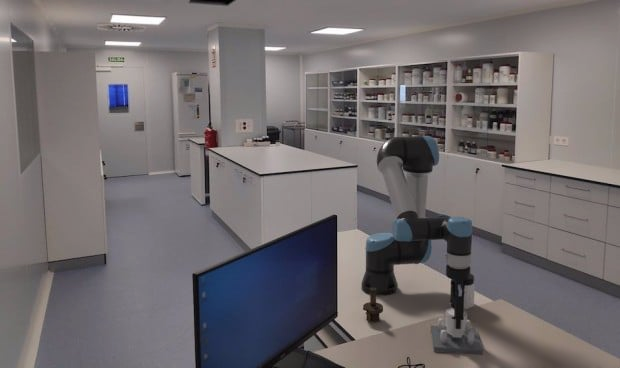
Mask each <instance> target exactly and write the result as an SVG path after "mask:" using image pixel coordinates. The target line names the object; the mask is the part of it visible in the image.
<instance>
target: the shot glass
mask: <svg viewBox="0 0 620 368" xmlns="http://www.w3.org/2000/svg"><path fill="white" fill-rule="evenodd" d="M452 317H454V308H452V307H450V308H448V309H446V310H445V321H446V322H445V323H446V326H447V333H448V334H450V335H453V319H452ZM463 317H464V320H462V335H464V333H465V327H466V320H468V312H467V311H466V310H464V316H463Z"/></svg>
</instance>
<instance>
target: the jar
mask: <svg viewBox="0 0 620 368" xmlns="http://www.w3.org/2000/svg"><path fill="white" fill-rule="evenodd" d="M463 282H464V284H465V289H464V291H465V293H464V310H468V309H471V308H473V307H474V306H475V289H476V288H475V285H476V283H475V276H474V274H472V273H470V278H469V279H467V280H463ZM449 294H450V297H449V299H450V298H451V290H450V293H449Z"/></svg>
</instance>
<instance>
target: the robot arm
mask: <svg viewBox="0 0 620 368" xmlns="http://www.w3.org/2000/svg"><path fill="white" fill-rule="evenodd" d="M439 161H440V152H439V147H438V144H437V141H436V140H435V138H434V137H432V136H427V135H424V136H423V135H416V136H394V137H390V138H389V139H387V140H386V141H384V143H383V144H381V146H380V148H379V150H378V152H377V155H376V165H377V166H376V167H377V169H378V172H379V173H381V175H382V176H383V179H384V183H385V186H386V189H387V192H388V193H387V194H388V197H389V200H390V202H391V206H392V209H393V212H394V216H395V220H393V222H392V227H391V229H392V233H391V232H379V233H373V234H371V235H370V236H368V237H367V238H366V241H365V272H364V274H363V277H362V281H361V290H362V291H363V292H364V291H365V292H364V293H365V294H368V293H369V295H370V289H371V288H376V296H389V295H390V296H391V295H393V294H396V293H397V292H398V288H399V285H398V281H397V278H396V275H395V272H394V271H395V268H394V267H395V266H397V265H398V266H399V265H418V264H425V263H426V262H428V260H429V259H430V258H431V255H432V249H433V245H432V241H437V240H440V241H441V240H444V241H445V242H446V254H445V255H444V258H446V265H445V266H446V267H445V275H446V277H447V278H448V279H450V291H451V298H450V297H449V303H450V308H454V317H452V319H453V337H459V338H462V320H464V317H463V316H464V311H465V309H464V293H465V291H464V289H465V284H464V282H463V280H467V279H469V278H470V274H471V265H472V264H471V263H472V242H473V240H472V239H473V222H472V220H471V219H470V218H468V217H464V216H449V215H447V214H441V213H440V214H437V215H436V216H434V217H426V208H427V194H428V193H427V192H428V182H429V175H430V174H431V173H432V172H433V167H436V166H438V164H439ZM405 174H406V175H405Z"/></svg>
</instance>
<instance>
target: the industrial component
mask: <svg viewBox="0 0 620 368" xmlns="http://www.w3.org/2000/svg"><path fill="white" fill-rule="evenodd" d="M369 298H370V299H369V300H370V302H368V301H367V302H366V303H364V304H363V305H362V310H363V311H366V312H365V314H364V315H366V321H367V323H376V322H377V323H378V322H379V321H380V314H382V313H383V312H384V306H383V304H381V303H379V302H377V295H376V288H371V289H370V294H369Z"/></svg>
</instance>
